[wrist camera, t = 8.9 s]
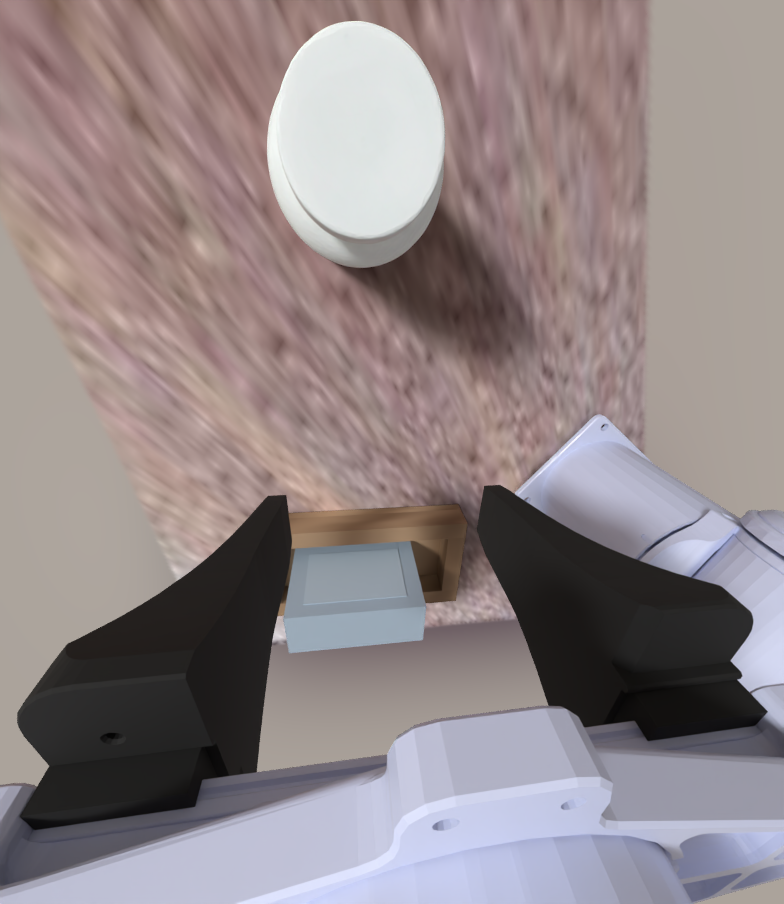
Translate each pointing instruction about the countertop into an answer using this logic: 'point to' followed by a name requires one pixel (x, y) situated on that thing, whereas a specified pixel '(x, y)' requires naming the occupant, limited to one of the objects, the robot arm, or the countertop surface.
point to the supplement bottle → (357, 145)
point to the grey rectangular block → (353, 597)
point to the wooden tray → (392, 540)
